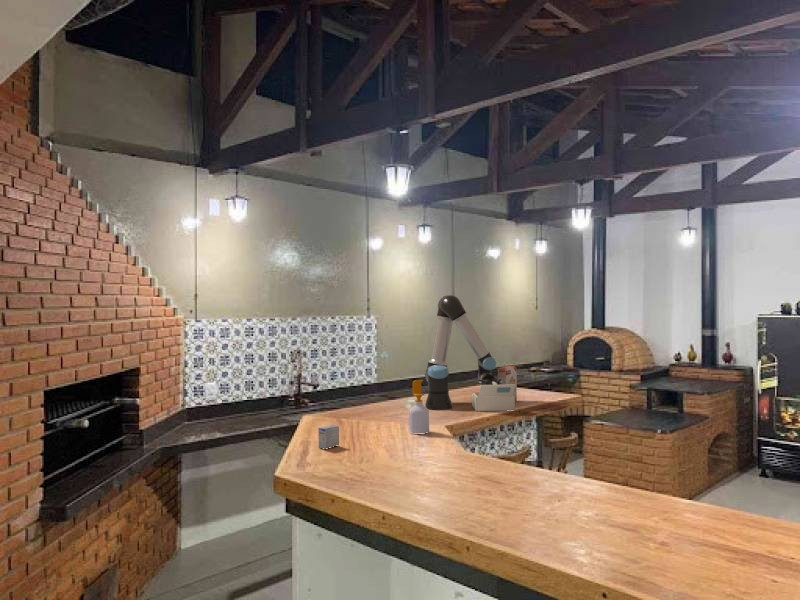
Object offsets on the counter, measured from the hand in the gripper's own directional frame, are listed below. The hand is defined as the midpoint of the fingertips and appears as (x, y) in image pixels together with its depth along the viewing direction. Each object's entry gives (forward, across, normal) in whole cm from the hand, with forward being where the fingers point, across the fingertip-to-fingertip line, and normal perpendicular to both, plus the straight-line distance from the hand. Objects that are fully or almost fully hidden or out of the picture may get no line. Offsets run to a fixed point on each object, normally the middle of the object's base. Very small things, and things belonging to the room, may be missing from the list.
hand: (495, 385), depth 310 cm
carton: (-13, -1, -15) cm, 20 cm away
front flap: (-1, -1, -2) cm, 3 cm away
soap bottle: (+43, +44, -15) cm, 63 cm away
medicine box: (+67, +83, -14) cm, 107 cm away
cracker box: (-32, -13, -15) cm, 38 cm away
